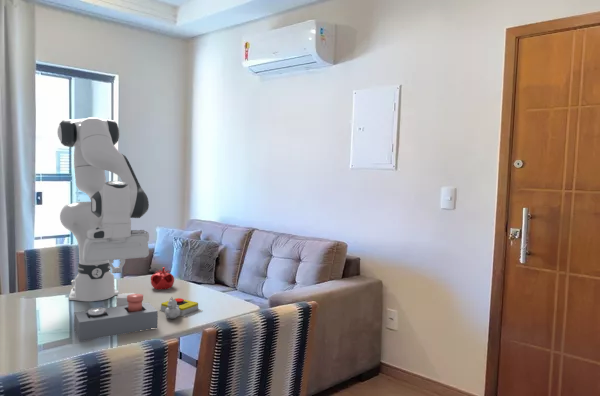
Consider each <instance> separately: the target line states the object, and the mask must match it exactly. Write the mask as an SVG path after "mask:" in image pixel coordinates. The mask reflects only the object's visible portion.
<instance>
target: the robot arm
mask: <svg viewBox="0 0 600 396" xmlns="http://www.w3.org/2000/svg"><path fill="white" fill-rule="evenodd" d="M118 125H119V124H118V123H117V122H116V121H115V120H113V119H109V118H105V119H103V118H100V117H99V118H98V117H93V116H91V117H87V118H76V119H71V118H69V119H64V120H61V121H60V122H59V125H58V127H57V137H58V140H59V141H60V144H61V145H63V146H64V147H68V148H73V147H74V151H73V152H74V153H73V165H74V167H73V168H74V179H75V186H76V187H77V189H78V190H79V191H81V192H82V193H85V194H86V195H87V196H88V197H89V200H90V201H78V202H77V201H76V202H72V203H68V204H65V205H64V206H63V208H62V209H61V211H60V213H59V220H60V223H61V224H62V226H63V227H64V228H65V229H66V230H68V231H69V232H71V233H72V234H73V236H74V237H75V239H76V242H77V245H78V257H79V258H78V259H79V260H78V261H79V262H78V264H77V275H76V276H75V278H74V279H72V280H71V286H72V288H71V290H70V292H69V295H68V300H69V301H79V302H98V301H104V300H107V299H111V298H113V297H114V296H117V295H118V294H120V292H119V290H117V289H116V286H115V274H120V273H121V274H122V273H123V267H124V265H125V263H126V260H127V259H129V260H130V259H143V258H148V256H149V255H150V248H149V240H150V233H149V232H148V231H147V230H145V229H140V230H137V229H132V219H140V218H142V217H143V216H144V215H145V214H146V213H147V212H148V210H149V207H150V205H149V198H148V196H147V194H146V193H145V191H144V190H143V188H142V186H141V184H140V182H139V180H138V178H137V176H136V174H135V171H134V169H133V167H132V166H131V163H130V162H129V160H128V158H127V156H126V155H125V154H123V153H121V152H120V151H119V150H118V149H117V148H116V146H115V145H116V144H118V142H119V139H120V135H121V133H120V128H119V126H118ZM106 171H108V172H111V173H112V174H114V175H116V176H118V177H119V178H120V180H121V181H119V180H111V181H107V180H106V179H107V178H106ZM115 260H116V261H117V260H119V262H120V263H119V265H118V266H114V265H113V264H114V261H115Z"/></svg>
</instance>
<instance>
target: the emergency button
mask: <svg viewBox="0 0 600 396" xmlns="http://www.w3.org/2000/svg"><path fill="white" fill-rule="evenodd" d="M174 299H175V300H176V301H177V305H179V309H180V315H181V316H180V315H179V316H180V317H184V316H185V317H184V318H188V316H189V317H191V316H193V315H196V314H199V313H202V312H203V309H199V302H198V301H197V302H196V301H192V300H189V299H188V300H187V299H184V298H180V297H177V298H173V300H174ZM168 302H169V300H166V301H165V302H161V305H160V308H161V311H160V312H164V311H165V310H166V308H168Z"/></svg>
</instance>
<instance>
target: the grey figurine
mask: <svg viewBox="0 0 600 396" xmlns="http://www.w3.org/2000/svg"><path fill="white" fill-rule="evenodd" d="M173 299H174V300H173ZM175 299H176V298H173V297H171V298H170V299H169V300H168V301H169V302H168V308H166V310H165V312H164V314H165V317H166V318H167V319H176V318H178V317H179V316H180V309H179V305H177V301H176V300H175Z"/></svg>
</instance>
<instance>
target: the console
mask: <svg viewBox="0 0 600 396" xmlns="http://www.w3.org/2000/svg"><path fill="white" fill-rule="evenodd" d="M104 308H105V309H106V314H105V315H104V316H102V317H95V318H90V316H88V310H89V309H88V310H82V311H74V314H73V315H74V316H73V318H74V320H73V321H74V323H73V324H74V326H73V327H74V332H75V335H76V337H77V339H78V341H79V342H84V341H89V340H90V341H91V340H96V339H101V338H102V339H103V338H108V337H115V336H120V335H126V334H125V333H127V334H130V333H129V332H133V333H136V332H135V331H139V332H141V331H140V330H145V331H147V330H146V329H151V328H157V329H158V320H159V319H158V318H159V317H158V311H159V310H158V309H156V308H155V306H153V305H152V304H151V303H150V302H142V311H137V312H128V305H125V306H117V305H116V306H110V307H104ZM151 330H152V329H151Z"/></svg>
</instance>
